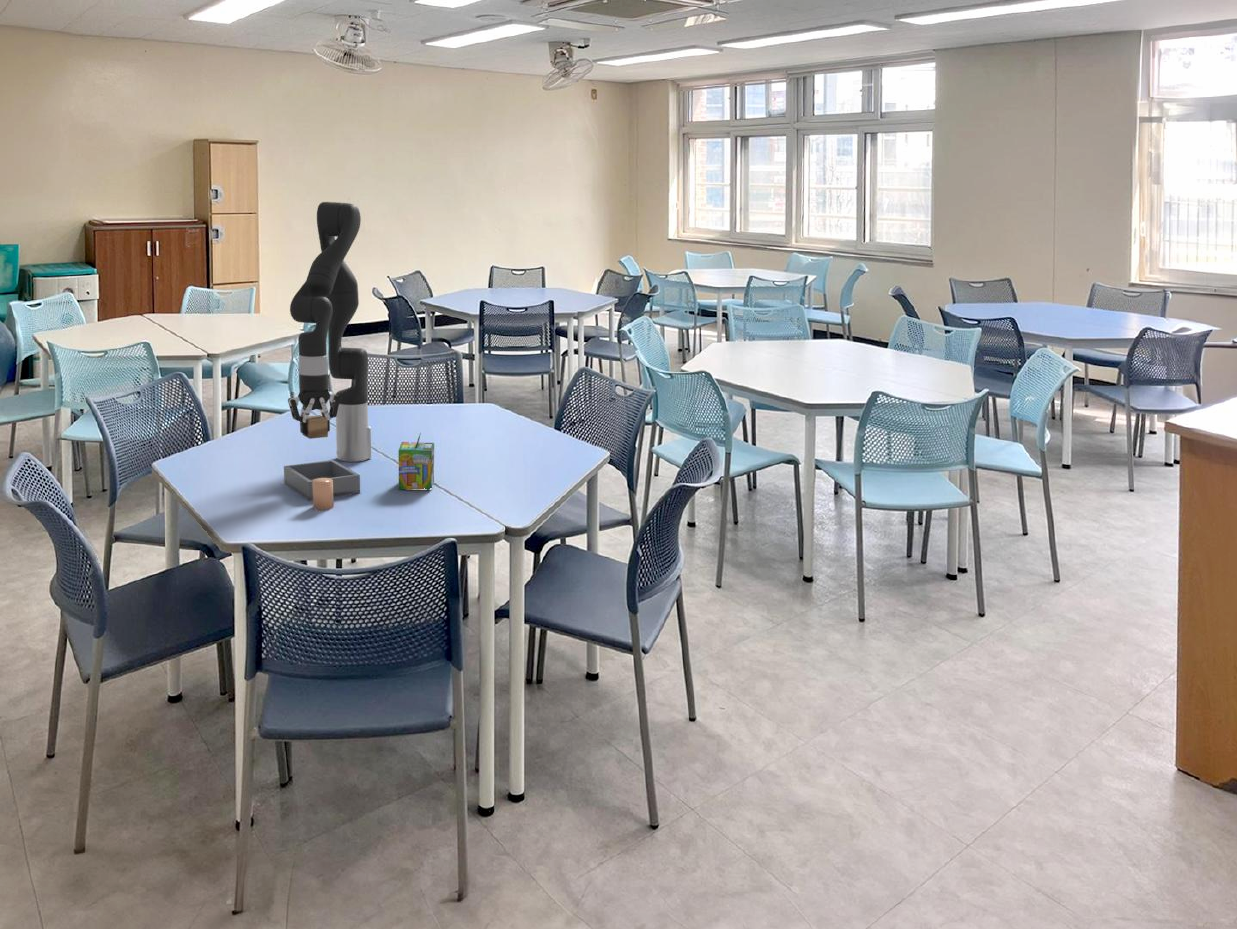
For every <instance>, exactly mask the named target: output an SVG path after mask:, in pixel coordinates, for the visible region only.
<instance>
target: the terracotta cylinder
mask: <svg viewBox="0 0 1237 929" xmlns="http://www.w3.org/2000/svg"><path fill="white" fill-rule="evenodd" d="M312 484H313V500H312V508H313V509H314V510H318V511H325V510H327V511H328V510H331V509H333V508H334V505H335V504H334V497H333V480H332V479H330V478H317V479H314V480H312Z"/></svg>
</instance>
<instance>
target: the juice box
mask: <svg viewBox="0 0 1237 929" xmlns="http://www.w3.org/2000/svg"><path fill="white" fill-rule="evenodd" d="M421 435H422V432H420V433H419V435H418V438H417V441H401V443H400V444H399V445H400V446H399V448H398V491H402V490H401V489H424V488H425V489H430V488H432V489H433V487H434V484H433V482H434V483H435V475H434V474H435V470H434V469H435V442H424V441H423V442H420V439H421V438H420V437H421ZM432 486H433V487H432Z"/></svg>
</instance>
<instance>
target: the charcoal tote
mask: <svg viewBox="0 0 1237 929" xmlns="http://www.w3.org/2000/svg"><path fill="white" fill-rule="evenodd" d="M360 477H361V475H360V474H359V473H357V472H355V471H353V470H352V469H350V468H348V467H346V466H344V465H343V464H341V463H339V462H337V461H336V460H333V459H331V460H323V461H315V462H306V463H299V464H291V465H284V466H283V478H284V479H283V480H284V481H283V482H284V485H285V486H287V487H288V488H290V489H292V490H293V491H294V492H296V493H297V494H299V495H301V497H303V498H305V499H306V500H308V501H313V484H312V480H314V479H317V478H330V479H332V480H333V498H335V497H342V496H349V494H351V495H356V494H361V478H360Z"/></svg>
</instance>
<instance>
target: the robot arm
mask: <svg viewBox="0 0 1237 929" xmlns="http://www.w3.org/2000/svg"><path fill="white" fill-rule="evenodd" d="M361 218H362V217H361V213H360V210H359V207H358V206H357V205H356V204H354V203H348V202H334V201H322V202H320V203H319V204H318V206H317V210H316V225H317V232H318V233H317V234H318V239H319V244H320V250H321V251H320V253H319V254H318V255H317V256H316V257H315V259H313V261H312V263H311V265H310V267H309V271H308V274H307V277H306V280H305V282H304V283H303V284H302V285H301V287H300V289H298V291H297V292H296V293H295V295H294V296H293V298H292V300H291V302H290V304H289V314H290V317H292V319H293V320H294V321H295V322H297V323H300V324H301V323H304V324H305V323H306V324H315V327H314V328H313V329H314V330H309V331H305V332H304V331H303V332H301V333H300V334H299V336H298V368H297V371H298V388H299V392H298V395H297V396H296V397H293V398H292V397H289V398H287V403H288V406H289V409H290V414H291V416H292V419H294V421H296V422H299V429H300V430H299V431H300V433H301V434H302V436H304V437H306V436H308V426H307V419H308V416H311V412H312V411H315V410H318V411H319V412H320V415H321V416H323V417H325V418H327V423H328V433H330V431H331V424H330V423H331V422H330V421H331V419H333V418H335V433H336V459H337V460H338V461H341V462H349V463H350V462H362V461H367V460H369V459H372V431H371V430H372V428H371V427H370V426H369V417H368V416H369V412H368V410H369V409H368V392H369V391H368V390H369V388H368V387H369V386H368V383H369V382H368V380H369V379H368V378H369V356H368V352H367V350H366V349H365V348H361V347H343V346H342V340H343V339H342V338H343V335H344V332H345V330H346V328H347V326H348V325H349V323H350V322H351V321H352V319H353V317H354V315H355V313H357V309H358V308H359V301H360V300H359V288H358V287H359V286H358V281H357V279H356V276H355V275H354V273H353V271H352V270H351V268H350V267H349V266H348V265H347V263H346V261H345V258H346V256H347V254H348V253H349V251H350V249H351V247H352V245H353V243H354V242H355V240H356V238H357V235H358V233H359V231H360V227H361V220H362V219H361ZM335 237H336V238H335ZM327 339H328V349H327ZM327 350H328V353H327ZM329 372H330V373H329ZM329 374H330V376H331V377H332V378H333V379H337V380H354V384H353V385H351V386H350V387H348V388H344V389H341V390H339V391H337V392H336V393H334V394H331V393H330V391H329ZM329 401H330V407H329V409H328V406H327V403H328V402H329ZM299 402H300V404H301V405H302V407H301V409H300V412H299V409H298V406H299Z"/></svg>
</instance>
